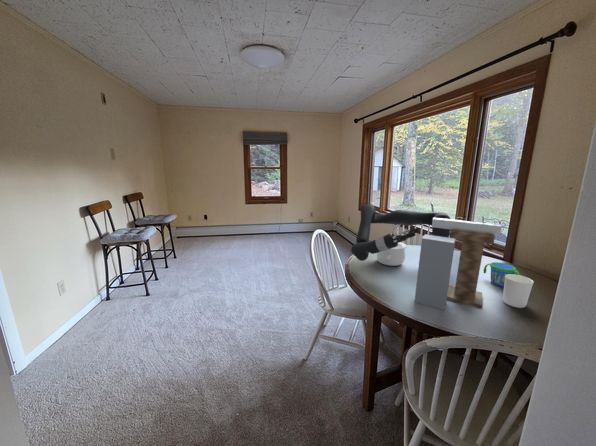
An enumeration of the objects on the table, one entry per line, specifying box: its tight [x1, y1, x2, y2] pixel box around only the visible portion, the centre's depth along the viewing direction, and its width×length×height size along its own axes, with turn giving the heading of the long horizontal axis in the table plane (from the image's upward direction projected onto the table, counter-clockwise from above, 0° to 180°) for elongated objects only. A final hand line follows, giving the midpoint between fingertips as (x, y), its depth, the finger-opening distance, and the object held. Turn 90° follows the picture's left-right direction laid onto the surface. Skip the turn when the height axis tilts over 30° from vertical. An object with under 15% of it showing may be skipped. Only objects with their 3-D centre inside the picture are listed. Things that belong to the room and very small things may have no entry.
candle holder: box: [502, 273, 535, 309], centre depth 118 cm, size 10×10×12 cm
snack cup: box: [483, 261, 521, 287], centre depth 138 cm, size 16×10×10 cm
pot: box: [376, 242, 407, 267], centre depth 165 cm, size 22×17×12 cm
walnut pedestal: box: [446, 230, 496, 309], centre depth 121 cm, size 16×14×32 cm
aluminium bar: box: [431, 218, 503, 236], centre depth 119 cm, size 26×4×4 cm, turn 56°
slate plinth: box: [414, 234, 456, 311], centre depth 116 cm, size 12×8×30 cm, turn 56°
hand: (416, 231), depth 131 cm, fingers open, 8 cm apart
